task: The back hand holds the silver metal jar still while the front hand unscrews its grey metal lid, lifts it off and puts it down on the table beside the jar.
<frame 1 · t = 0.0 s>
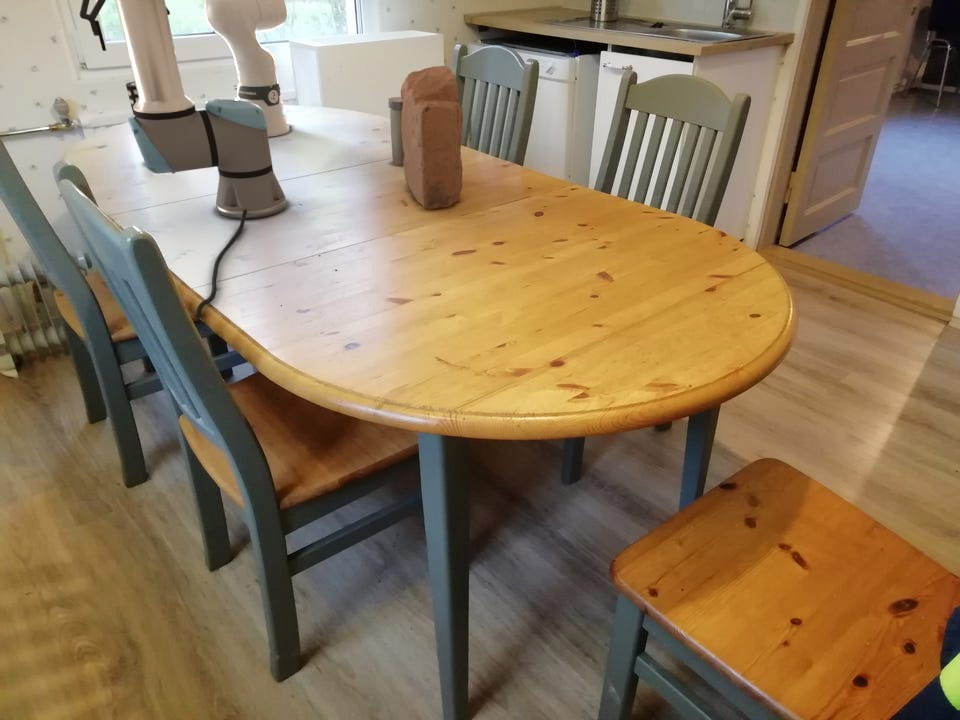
front hand: (133, 48, 174), 28 cm above the table, tool pointing down, fingers open, 13 cm apart
jar: (402, 163, 188), on the table
lid: (399, 100, 180), point 16 cm above the table, screwed on, not yet turned
stone: (434, 194, 167), on the table
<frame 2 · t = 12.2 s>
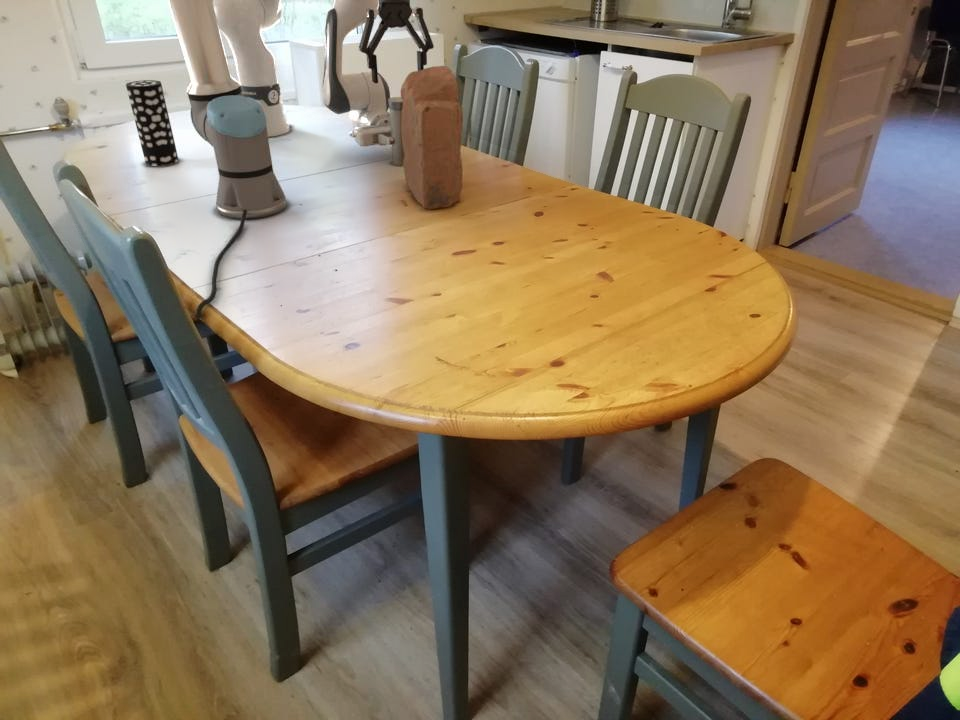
front hand: (398, 80, 177), 21 cm above the table, tool pointing down, fingers open, 12 cm apart
back hand: (402, 139, 184), 6 cm above the table, tool horizontal, fingers closed on jar, 5 cm apart
jar: (402, 163, 188), on the table, touching back hand
everything else where it was.
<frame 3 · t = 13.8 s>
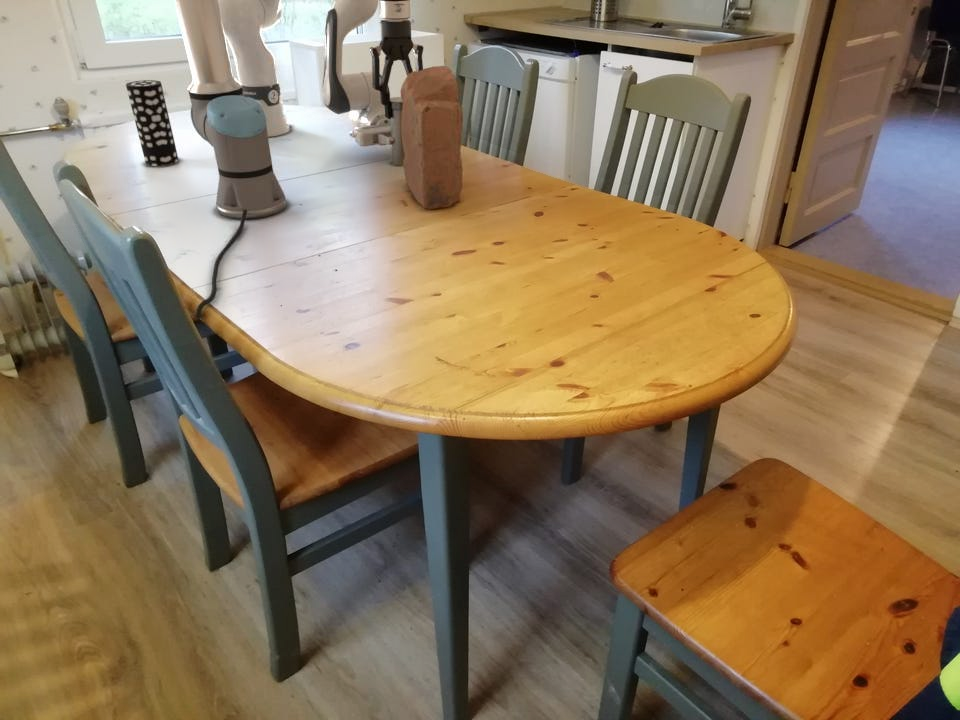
front hand: (400, 116, 182), 12 cm above the table, tool pointing down, fingers closed on lid, 6 cm apart
back hand: (402, 139, 184), 6 cm above the table, tool horizontal, fingers closed on jar, 5 cm apart
jar: (402, 163, 188), on the table, touching back hand
lid: (399, 100, 180), point 16 cm above the table, screwed on, not yet turned, touching front hand
everything else where it was.
when the front hand's fingers open (13 cm above the table, at t = 15.3 s): lid stays where it is, point 17 cm above the table.
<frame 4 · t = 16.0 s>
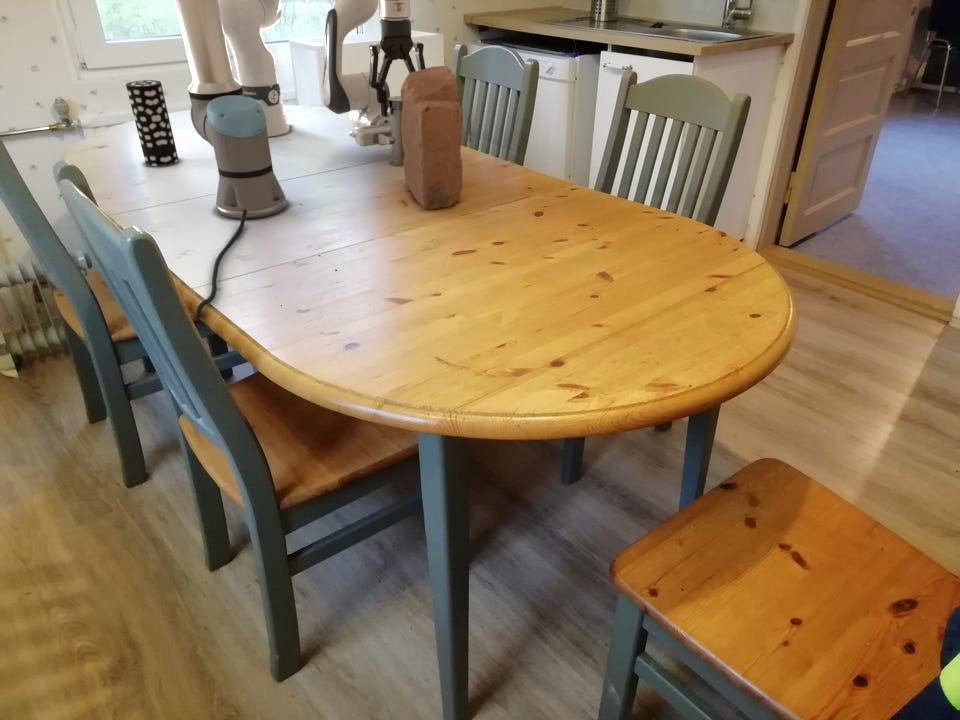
front hand: (400, 114, 181), 13 cm above the table, tool pointing down, fingers open, 8 cm apart
back hand: (402, 139, 184), 6 cm above the table, tool horizontal, fingers closed on jar, 5 cm apart
jar: (402, 163, 188), on the table, touching back hand
lid: (399, 99, 179), point 17 cm above the table, turned 76° so far, risen 0.2 cm, still on its thread
everything else where it was.
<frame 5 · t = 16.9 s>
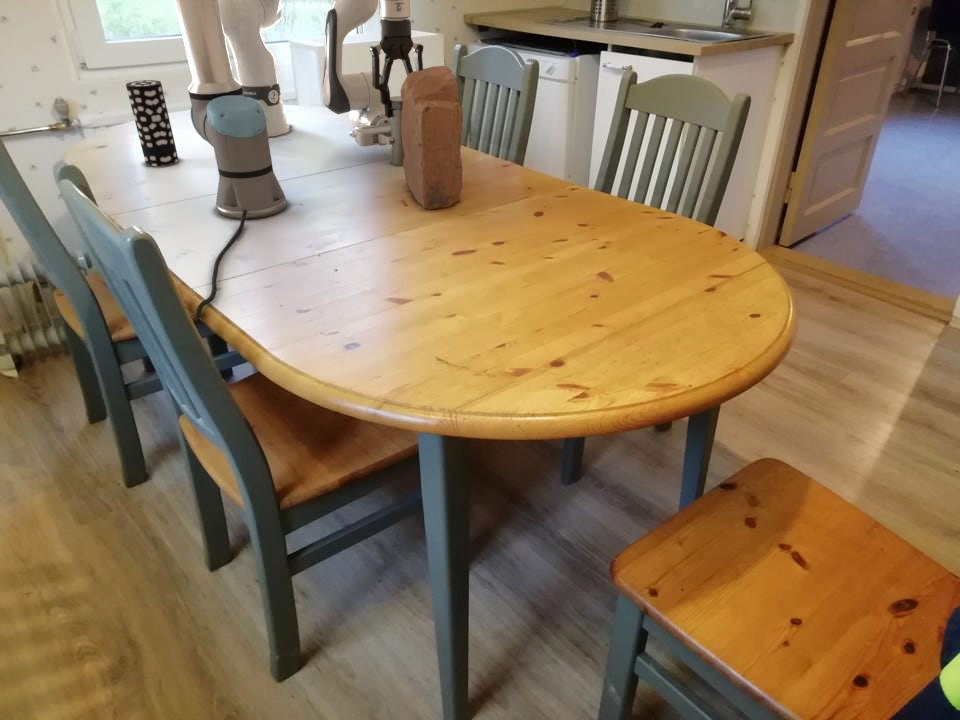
front hand: (400, 115, 182), 13 cm above the table, tool pointing down, fingers closed on lid, 6 cm apart
back hand: (402, 139, 184), 6 cm above the table, tool horizontal, fingers closed on jar, 5 cm apart
jar: (402, 163, 188), on the table, touching back hand
lid: (399, 99, 179), point 17 cm above the table, turned 76° so far, risen 0.2 cm, still on its thread, touching front hand
everything else where it was.
when the front hand's fingers open (0 cm above the table, at t = 23.8 s): lid drops 3 cm, point 2 cm above the table.
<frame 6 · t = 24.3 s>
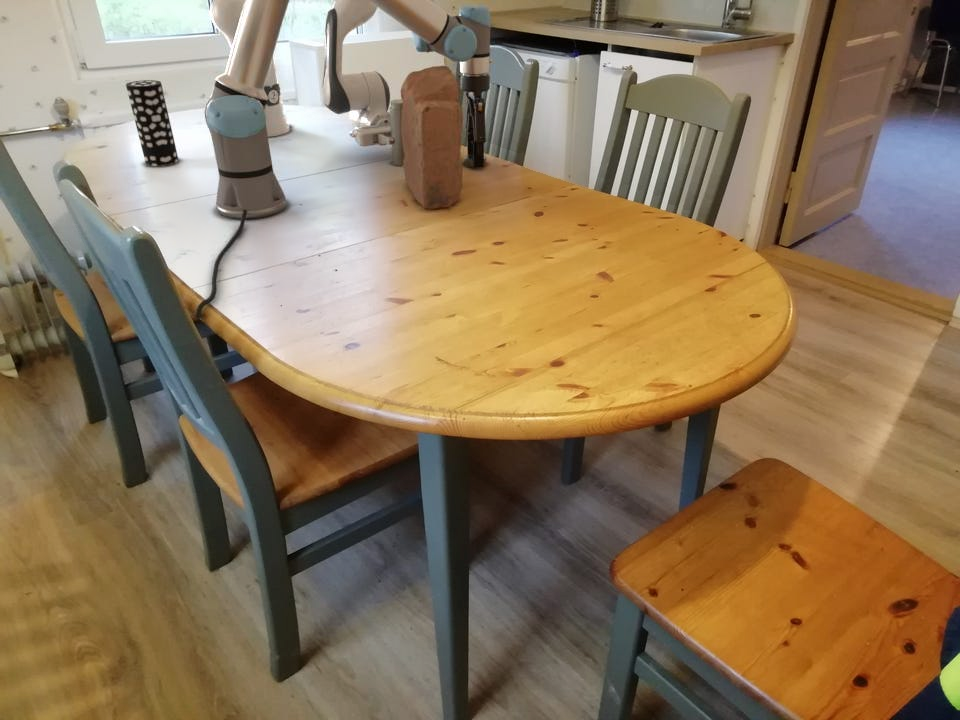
front hand: (475, 162, 188), 1 cm above the table, tool pointing down, fingers open, 8 cm apart
back hand: (402, 139, 184), 6 cm above the table, tool horizontal, fingers closed on jar, 5 cm apart
jar: (402, 163, 188), on the table, touching back hand
lid: (475, 158, 187), point 2 cm above the table, off its thread
everything else where it was.
when the back hand's fingers open (6 cm above the table, at t = 25.0 s): jar stays where it is, on the table.
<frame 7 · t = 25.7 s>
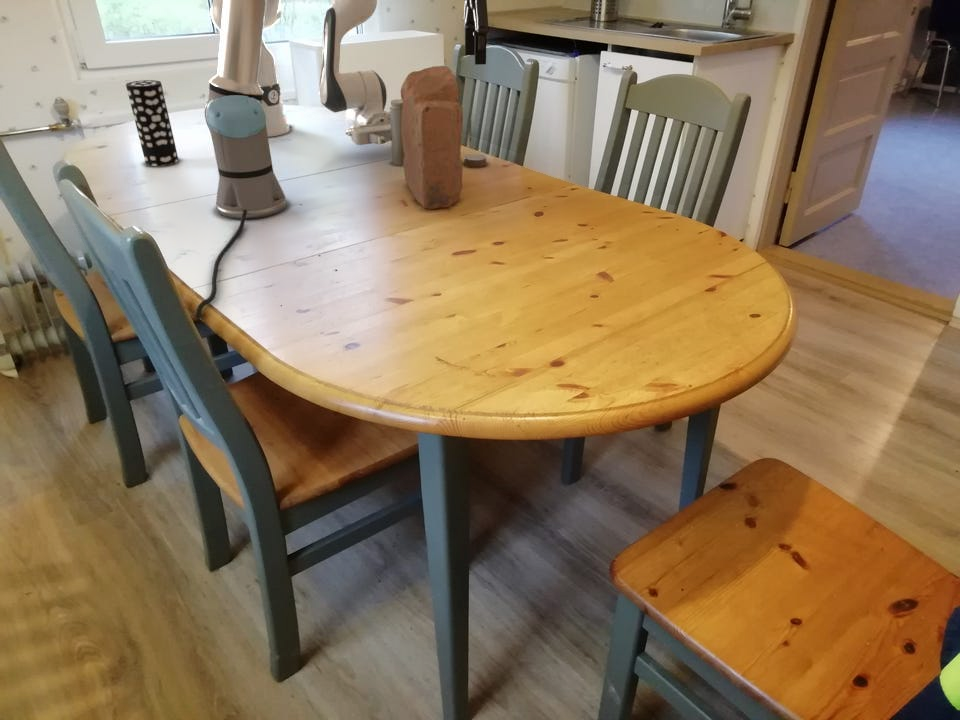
front hand: (475, 59, 174), 27 cm above the table, tool pointing down, fingers open, 13 cm apart
back hand: (398, 138, 186), 6 cm above the table, tool horizontal, fingers open, 8 cm apart
jar: (402, 163, 188), on the table
everything else where it was.
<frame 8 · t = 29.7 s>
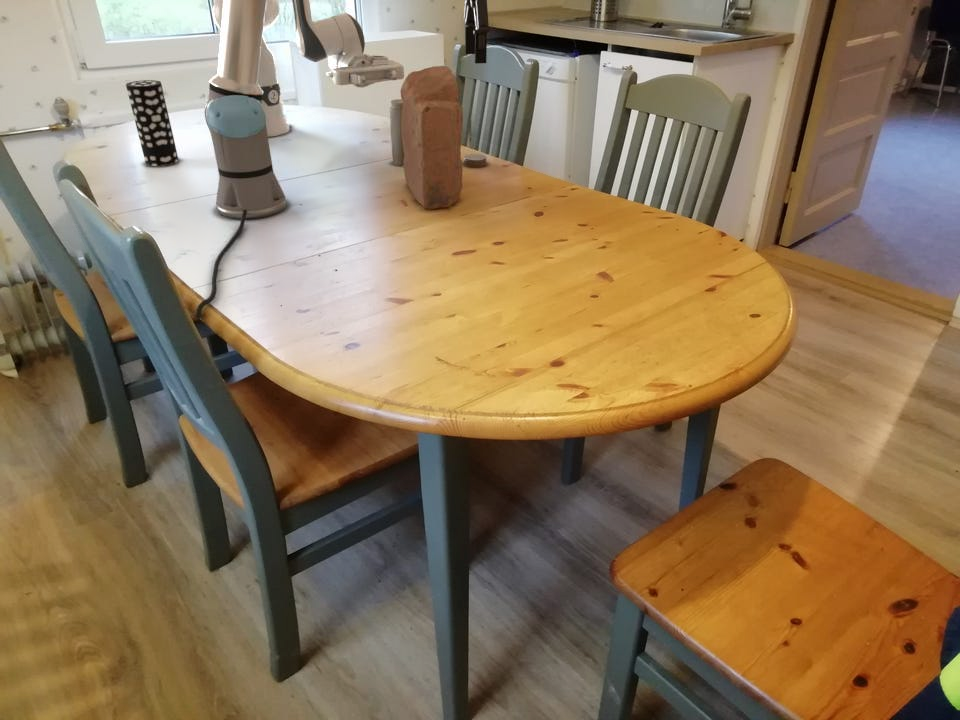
front hand: (475, 58, 174), 27 cm above the table, tool pointing down, fingers open, 13 cm apart
back hand: (379, 78, 187), 20 cm above the table, tool horizontal, fingers open, 8 cm apart
nothing on the table moved.
at the end: lid came off its thread; lid point 1.6 cm above the table; the front hand is holding nothing; the back hand is holding nothing; jar tilted 0°; jar moved 0.0 cm from its start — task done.
